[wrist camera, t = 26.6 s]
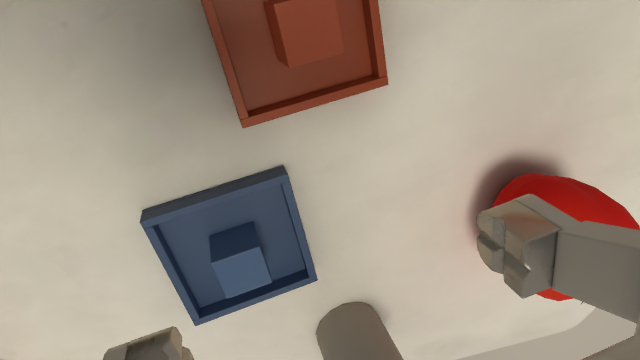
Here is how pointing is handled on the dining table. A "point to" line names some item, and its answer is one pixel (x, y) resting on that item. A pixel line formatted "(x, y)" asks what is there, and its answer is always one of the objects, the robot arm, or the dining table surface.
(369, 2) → the rust tray
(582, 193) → the tomato
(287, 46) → the rust block
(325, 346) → the cup
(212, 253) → the blue block
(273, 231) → the blue tray
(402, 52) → the dining table surface
